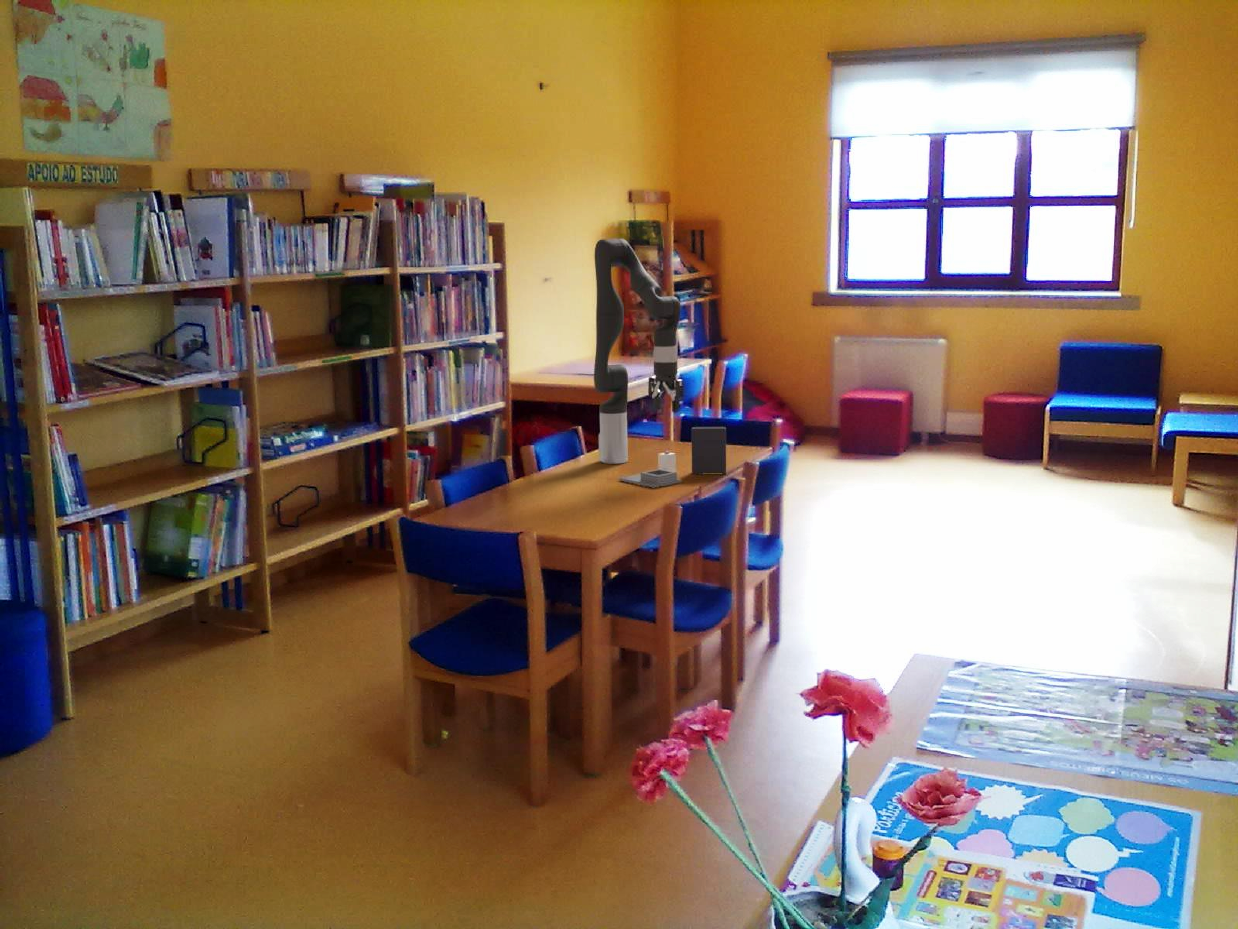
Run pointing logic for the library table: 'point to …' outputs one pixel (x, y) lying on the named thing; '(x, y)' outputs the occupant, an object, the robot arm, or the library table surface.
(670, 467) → the charger
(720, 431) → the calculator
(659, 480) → the grey base with socket
